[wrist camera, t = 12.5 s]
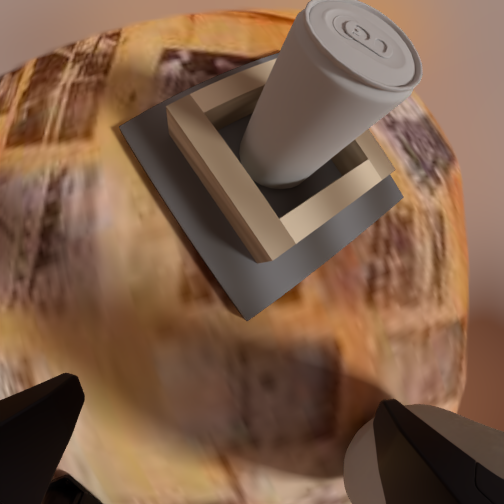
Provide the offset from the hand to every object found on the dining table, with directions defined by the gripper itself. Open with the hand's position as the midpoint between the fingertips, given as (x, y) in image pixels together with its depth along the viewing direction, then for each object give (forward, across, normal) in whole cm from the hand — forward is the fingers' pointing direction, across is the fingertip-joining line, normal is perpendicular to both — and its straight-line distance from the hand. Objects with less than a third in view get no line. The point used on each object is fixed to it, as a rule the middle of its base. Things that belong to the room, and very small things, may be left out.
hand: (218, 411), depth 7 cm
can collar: (+15, -1, -7) cm, 17 cm away
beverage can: (+14, -1, -7) cm, 16 cm away
